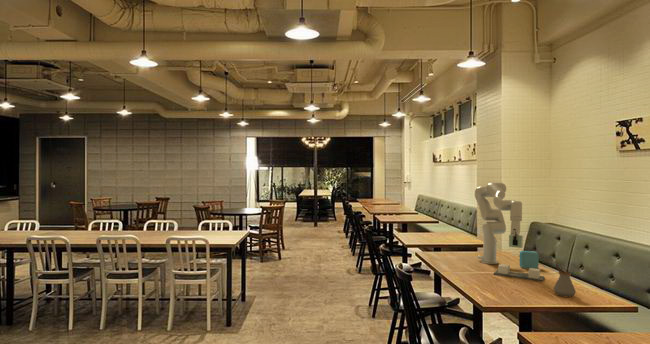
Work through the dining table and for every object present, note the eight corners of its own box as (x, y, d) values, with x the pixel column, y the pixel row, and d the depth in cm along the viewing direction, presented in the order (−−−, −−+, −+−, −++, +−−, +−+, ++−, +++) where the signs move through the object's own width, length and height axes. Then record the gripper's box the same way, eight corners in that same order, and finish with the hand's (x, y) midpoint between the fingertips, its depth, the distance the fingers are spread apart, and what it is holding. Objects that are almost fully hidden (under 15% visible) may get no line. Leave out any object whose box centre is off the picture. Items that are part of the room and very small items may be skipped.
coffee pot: (578, 298, 245) (579, 272, 245) (556, 297, 248) (557, 271, 247) (565, 288, 266) (566, 264, 266) (545, 287, 269) (546, 263, 268)
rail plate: (493, 274, 298) (493, 272, 298) (497, 271, 306) (497, 269, 306) (542, 281, 281) (542, 279, 281) (544, 278, 289) (544, 276, 289)
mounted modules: (498, 272, 298) (498, 265, 298) (500, 271, 303) (500, 263, 303) (538, 278, 284) (538, 271, 283) (539, 276, 289) (540, 269, 289)
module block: (509, 246, 303) (509, 235, 303) (510, 245, 307) (510, 234, 307) (521, 247, 299) (521, 236, 299) (522, 247, 303) (522, 235, 303)
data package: (536, 267, 322) (536, 251, 321) (538, 268, 317) (538, 252, 317) (519, 266, 323) (519, 250, 323) (521, 268, 319) (521, 251, 319)
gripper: (512, 217, 312) (512, 242, 312) (507, 219, 298) (507, 245, 298) (523, 218, 308) (523, 243, 308) (519, 220, 294) (519, 246, 294)
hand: (515, 244), depth 303 cm, fingers closed on module block, 4 cm apart
